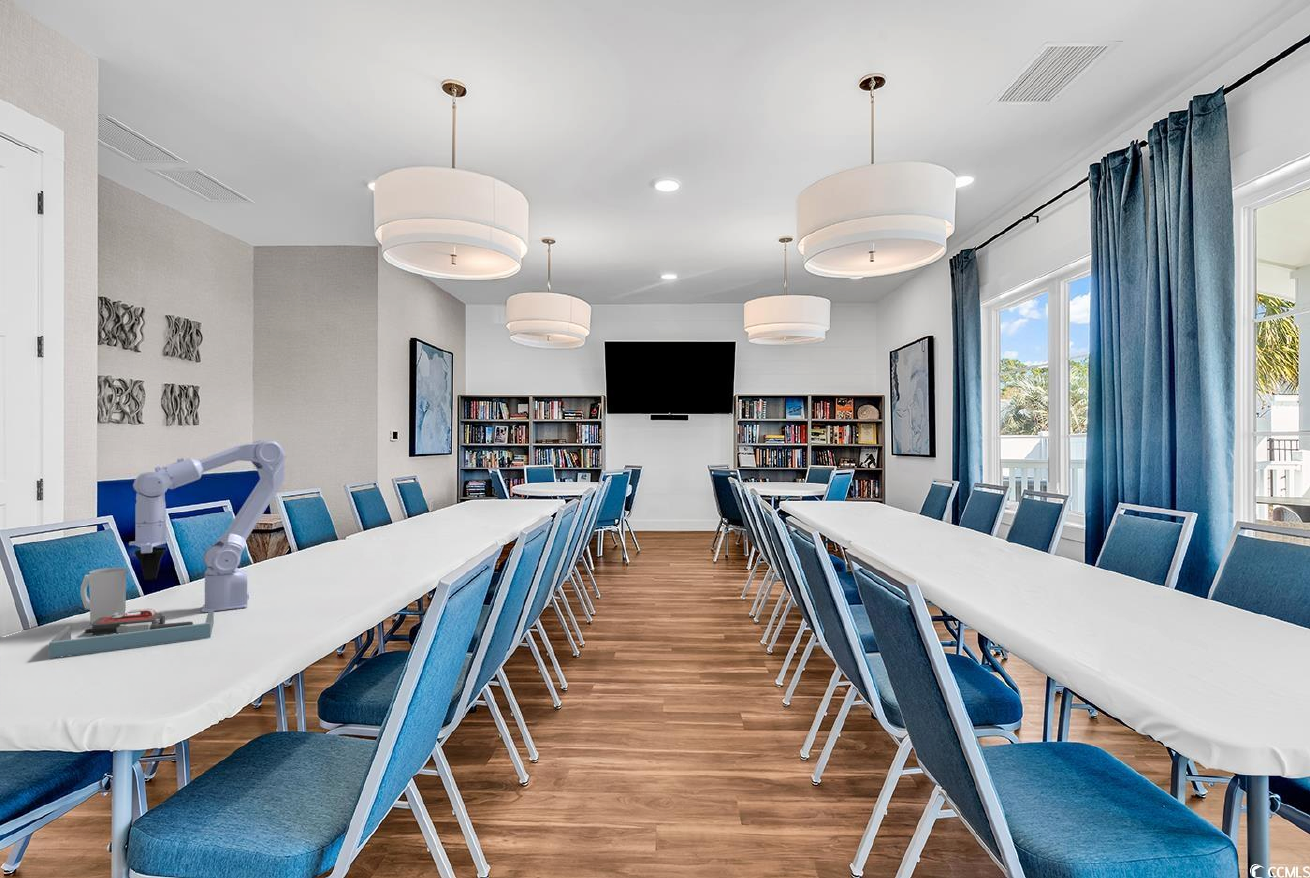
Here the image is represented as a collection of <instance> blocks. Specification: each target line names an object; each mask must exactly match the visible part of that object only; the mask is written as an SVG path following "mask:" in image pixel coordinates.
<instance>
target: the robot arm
mask: <svg viewBox="0 0 1310 878" xmlns="http://www.w3.org/2000/svg"><path fill="white" fill-rule="evenodd" d="M285 460H286V454H285V451H284V450H283V448H282V445H280V443H279V442H277V441H274V440H256V441H253V442H248V443H243V444H239V445H235V446H233V447H229V448H227V449H225V450H222V451H220V452H217V453H214V454H211V455H210V456H206V457H204V458H201V459H199V460H196V459H194V458H191V457H188V458H185V457H180V458H176V461H177V462H173V463H171V464H168V465H165V466H156V467H154V470H155V471H146V472H142V473H140V474H139V475H138V476H137V477H136V478H135V479H134V481H133V483H132V488H133V489H134V491H135V492H136V493H135V494H136V496H135V501H136V503H135V508H134V509H135V516H134V517H135V521H134V522H135V527H134V528H135V533H134V534H135V539H134V541H129V542H128V545H129V546H135V547H138V548H140V549H138V550H135V551H134V554H135V557H136V558H137V559H138V562H139V564H140V567H141V573H142V575H143V576H142V577H143V579H144V581H151V580H152V581H154V580H156V579H157V578H158V574H159V570H160V566H161V565H160V564H161V562H162V558H163V556H164V554H165V552H166V550H167V547H166V546H161V545H164V544H167V541H168V540H167V539H166V536H167V535H166V533H167V528H166V525H167V523H166V522H167V521H166V519H167V518H166V517H167V516H166V514H167V513H166V512H167V511H166V509H167V505H166V504H167V503H166V498H165V497H166V495H165V493H166V492H167V491H168V489H169V490H174V489H176V488H178V487H183V486H184V485H187V484H190V483H193V482H195V481H198V480H200V479H201V477H202V476H203V474H204V473H206V472H208V471H210V470H213V469H217V468H219V467H223V466H226V465H230V464H232V463H235V462H242V461H243V462H244V461H245V462H251V463H252V464H253V465H254V467H255V468H256V470H257V473H258V477H259V480H258V482H257V483H256V485H255V487H254V488H253V490H252V491H251V493H250V494H249V495H248V497H247V498H246V500H245V502H244V503H243V505H242V507H241V508H240V509H239V511H238V512H237V513H236V515H235V517H234V518H233V520H232V522H231V523H230V525H229V526H228V528H227V529H226V531H225V532H224V533H223V534H222V535H220V536H219V537H218V539H217V540H216V541H215V543H214V544H212V545H211V546H209V547H207V548H206V550H205V551H204V553H203V557H202V560H203V563H204V564H205V565H206V567H207V569H206V570H205V571H204V604H203V605H202V609H201V613H208V611H214V612H217V611H225V610H226V611H227V610H236V609H242V608H248V600H250V592H249V591H248V570H240V567H239V566H240V563H241V559H242V553H243V552H244V550H245V547H246V541H247V539H248V538H249V536H250V535H251V534H252V532H253V530H254V528H255V527H256V526H257V524H258V522H259V521H260V519H261V517H262V516H263V514H264V513H265V511H266V509H267V508H268V506H269V505H270V503H271V502H272V500H273V499H274V497H275V495H276V494H277V492H278V491H279V489H280V487H281V486H282V485H283V483H284V482H285ZM158 546H159V547H158ZM238 567H239V568H238Z"/></svg>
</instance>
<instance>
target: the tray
mask: <svg viewBox="0 0 1310 878" xmlns="http://www.w3.org/2000/svg"><path fill="white" fill-rule="evenodd" d="M214 613H215V611H208V612H207V615H206V619H205V621H204V622H203V623H196V624H194V623H193V625H185V626H177V627H169V628H161V629H153V630H145V631H136V632H128V633H120V634H119V633H117V634H107V635H96V636H88V637H82V638H80V637H79V638H73V639H72V627H71V626H69V627H64V628H63V629H62V630H61V631H60V632H59V633H58V634H57V635H56V636H55V637H54V638H53V639H52V640H51V641H49V643H48V659H49V658H51V659H56V658H55V657H59V658H62V657H61V656H66V657H70V656H69V655H74V656H79V655H81V656H82V655H87V654H95V653H102V652H110V651H111V652H112V651H117V650H118V649H119V650H125V649H126V648H127V649H133V647H134V648H140V647H141V648H142V647H148V646H155V645H157V646H158V645H163V644H171V643H178V642H186V641H192V640H193V641H194V640H201V639H207V638H208V639H209V638H212V637H211V636H212V633H213V629H212V628H214V625H215V624H214V616H215V615H214ZM127 649H126V650H127Z"/></svg>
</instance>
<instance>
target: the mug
mask: <svg viewBox="0 0 1310 878" xmlns="http://www.w3.org/2000/svg"><path fill="white" fill-rule="evenodd" d="M88 573H89V574H85V575H84V577H83V581H82V583H81V586H80V597H81V600H82V603H83V606H84V609H85V610H89V618H90V619H89V620H90V625H92V623H93V622H94V621H96V620H98V619H99V618H102V617H112V615H113V614H115V613H118V614H117V615H125V614H126V609H127V607H126V606H127V605H126V603H127V600H126V599H127V568H126V567H109V568H100V569H94V570H91V571H89V572H88ZM88 587H89V596H88V593H87V589H88Z"/></svg>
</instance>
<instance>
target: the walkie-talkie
mask: <svg viewBox="0 0 1310 878" xmlns="http://www.w3.org/2000/svg"><path fill="white" fill-rule="evenodd" d="M135 613H137V614H135ZM139 613H140V614H139ZM117 614H118V613H115V614H113V615H112V617H102V618H99V619H98V620H96V621H94V622H93V623H92V624H91V628H87V629H85V630H84V634H86V635H87V634H88V635H89V634H91V636H94V635H96V636H102V635H101V634H107V635H112V634H111V633H117V634H119V633H128V632H136V631H145V630H153V629H161V628H169V627H177V626H185V625H194V622H193V621H183V622H182V621H180V622H179V621H178V622H171V623H170V622H169V623H166V615H165V614H164V613H163V612H155V609H153V608H144V609H131V610H130V611H127V612H125V615H117Z"/></svg>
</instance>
